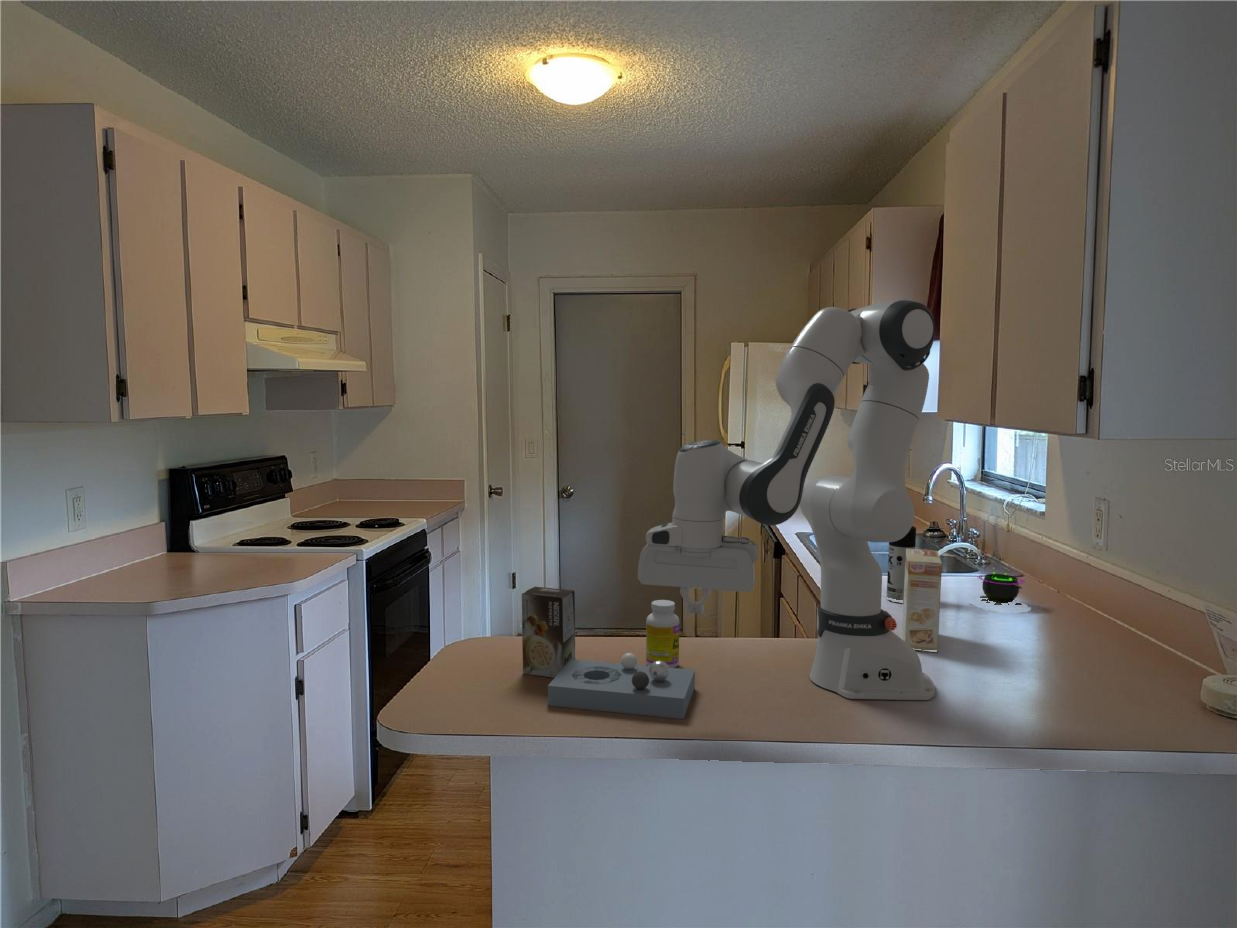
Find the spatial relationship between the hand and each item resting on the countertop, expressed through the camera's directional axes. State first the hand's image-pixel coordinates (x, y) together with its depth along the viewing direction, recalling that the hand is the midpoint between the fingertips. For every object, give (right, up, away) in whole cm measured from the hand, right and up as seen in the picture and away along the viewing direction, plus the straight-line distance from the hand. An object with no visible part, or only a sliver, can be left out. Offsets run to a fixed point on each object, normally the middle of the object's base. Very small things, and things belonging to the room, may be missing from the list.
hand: (694, 612), depth 136 cm
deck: (-12, -16, +5) cm, 21 cm away
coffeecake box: (+54, -14, +37) cm, 67 cm away
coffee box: (-27, -15, +17) cm, 35 cm away
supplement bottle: (-4, -15, +21) cm, 26 cm away
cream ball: (-11, -11, +8) cm, 18 cm away
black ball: (-10, -12, -1) cm, 15 cm away
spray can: (+62, -11, +71) cm, 95 cm away
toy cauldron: (+86, -11, +67) cm, 110 cm away
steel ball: (-6, -11, +3) cm, 13 cm away
